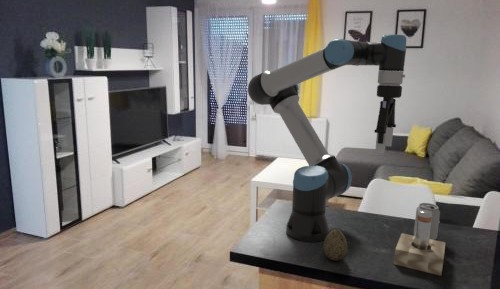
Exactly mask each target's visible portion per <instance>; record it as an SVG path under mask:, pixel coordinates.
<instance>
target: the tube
mask: <svg viewBox="0 0 500 289" xmlns="http://www.w3.org/2000/svg"><path fill="white" fill-rule="evenodd" d="M431 221H432V212H431V211H428V210H418V213H417V223H416V231H415V235H414V236H415V240H414V247H415V248H417V249H422V250H428V244H429V236H430V228H431Z"/></svg>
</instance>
